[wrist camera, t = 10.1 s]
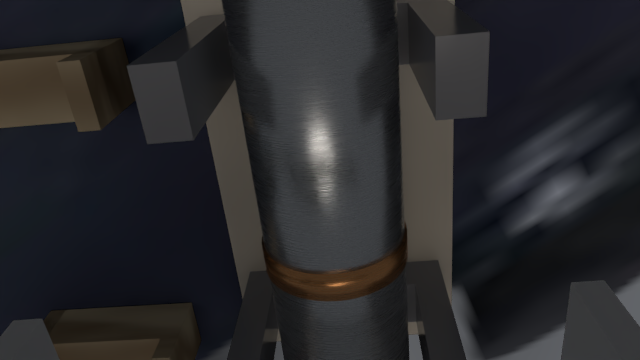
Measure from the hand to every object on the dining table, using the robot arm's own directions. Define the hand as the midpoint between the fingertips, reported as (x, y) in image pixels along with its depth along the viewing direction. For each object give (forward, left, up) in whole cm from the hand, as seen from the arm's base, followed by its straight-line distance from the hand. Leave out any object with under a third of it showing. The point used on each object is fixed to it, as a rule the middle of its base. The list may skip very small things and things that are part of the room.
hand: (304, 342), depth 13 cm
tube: (0, 0, -12) cm, 12 cm away
